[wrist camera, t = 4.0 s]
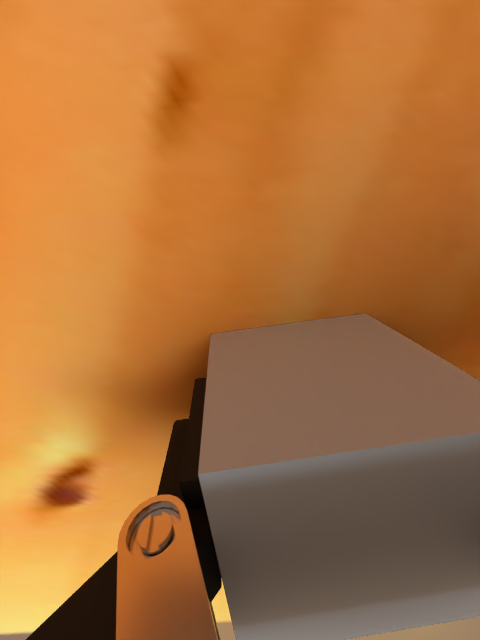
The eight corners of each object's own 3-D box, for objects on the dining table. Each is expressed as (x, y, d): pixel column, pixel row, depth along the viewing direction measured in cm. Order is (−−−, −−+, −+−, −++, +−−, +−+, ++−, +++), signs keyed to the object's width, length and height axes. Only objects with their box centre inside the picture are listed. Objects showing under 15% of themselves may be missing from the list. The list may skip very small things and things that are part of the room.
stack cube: (365, 312, 9) (549, 421, 4) (359, 435, 11) (480, 617, 6) (210, 333, 9) (197, 474, 4) (230, 454, 11) (240, 657, 6)
